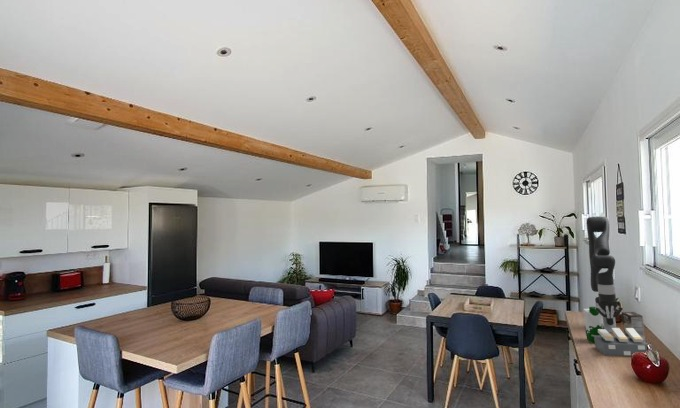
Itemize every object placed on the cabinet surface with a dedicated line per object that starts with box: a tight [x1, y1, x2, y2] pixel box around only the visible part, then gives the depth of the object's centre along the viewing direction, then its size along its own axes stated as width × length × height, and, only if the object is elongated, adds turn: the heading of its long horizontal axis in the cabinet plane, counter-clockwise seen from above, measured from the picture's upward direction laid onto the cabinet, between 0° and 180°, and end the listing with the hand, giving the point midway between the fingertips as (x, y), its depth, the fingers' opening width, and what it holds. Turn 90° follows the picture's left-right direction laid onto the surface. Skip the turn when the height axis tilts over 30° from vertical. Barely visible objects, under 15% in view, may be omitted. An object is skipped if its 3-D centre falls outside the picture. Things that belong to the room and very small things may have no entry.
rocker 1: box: [598, 329, 615, 341], centre depth 199 cm, size 10×4×2 cm, turn 165°
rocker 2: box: [611, 327, 628, 342], centre depth 197 cm, size 10×4×2 cm, turn 166°
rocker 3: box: [625, 328, 643, 342], centre depth 195 cm, size 10×4×2 cm, turn 166°
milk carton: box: [582, 306, 604, 344], centre depth 215 cm, size 9×9×20 cm
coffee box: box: [621, 311, 646, 342], centre depth 209 cm, size 9×6×16 cm
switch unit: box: [594, 336, 650, 357], centre depth 197 cm, size 13×20×7 cm, turn 74°
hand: (610, 324), depth 198 cm, fingers closed
